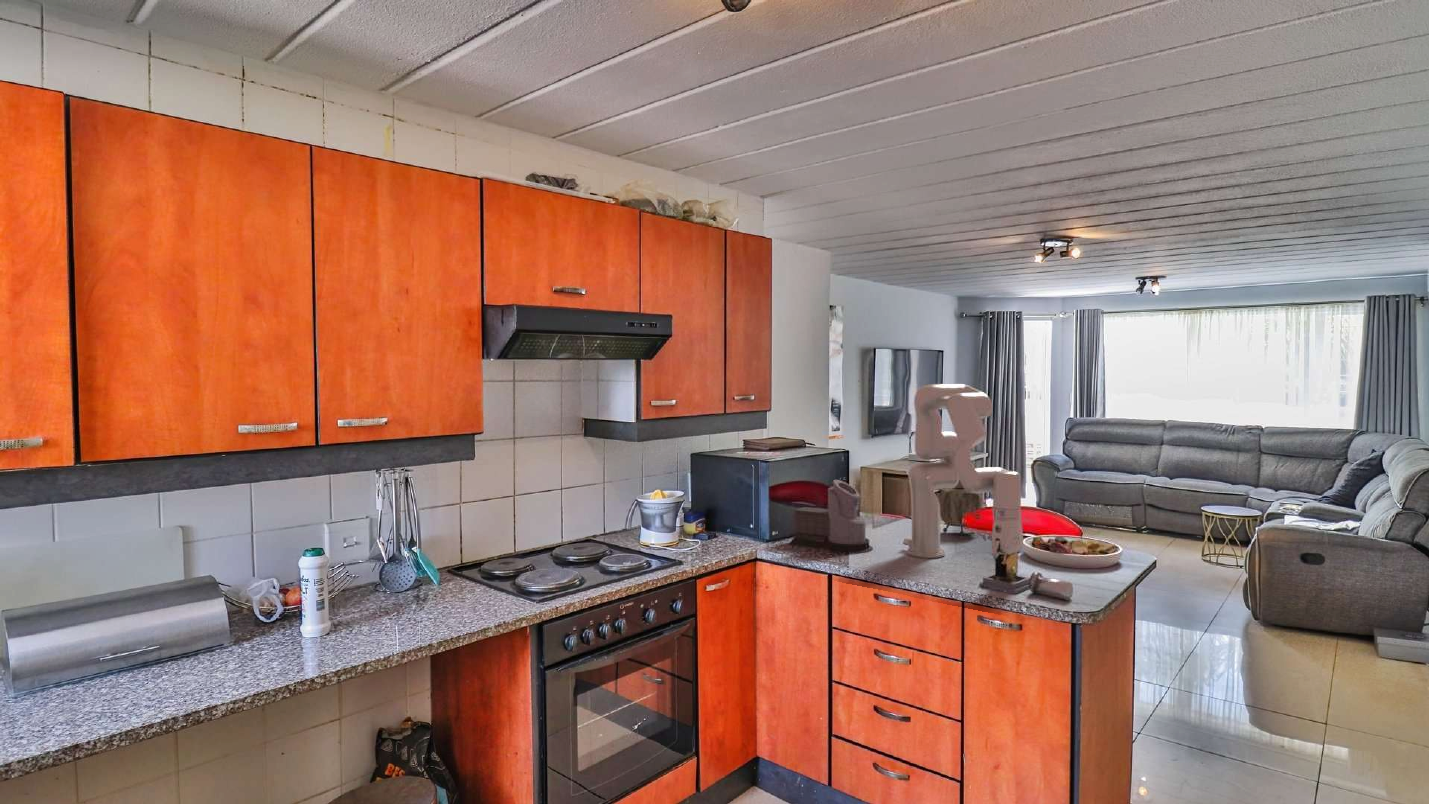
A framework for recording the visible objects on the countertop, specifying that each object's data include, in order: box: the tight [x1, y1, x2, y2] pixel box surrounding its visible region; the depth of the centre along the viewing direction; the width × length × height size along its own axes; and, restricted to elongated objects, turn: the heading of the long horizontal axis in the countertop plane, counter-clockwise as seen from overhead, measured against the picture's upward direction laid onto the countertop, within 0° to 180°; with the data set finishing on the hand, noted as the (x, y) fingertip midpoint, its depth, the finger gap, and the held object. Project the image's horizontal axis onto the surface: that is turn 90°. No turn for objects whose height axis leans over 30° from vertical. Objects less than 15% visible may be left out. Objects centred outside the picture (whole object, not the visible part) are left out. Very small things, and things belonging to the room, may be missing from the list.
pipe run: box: [1029, 571, 1074, 601], centre depth 207 cm, size 10×6×6 cm, turn 40°
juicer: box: [788, 479, 874, 555], centre depth 270 cm, size 30×16×24 cm, turn 57°
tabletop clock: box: [939, 479, 983, 536], centre depth 287 cm, size 14×9×25 cm, turn 85°
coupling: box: [996, 551, 1018, 582], centre depth 217 cm, size 6×6×8 cm
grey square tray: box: [979, 573, 1030, 595], centre depth 217 cm, size 11×11×2 cm
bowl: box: [1022, 534, 1123, 569], centre depth 248 cm, size 30×30×8 cm
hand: (1006, 574), depth 217 cm, fingers closed on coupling, 5 cm apart
